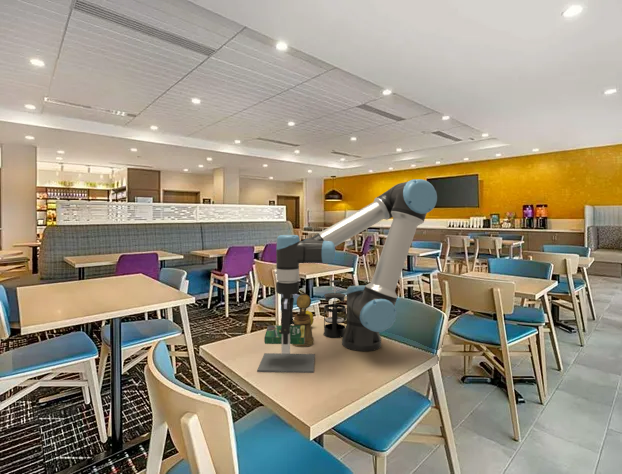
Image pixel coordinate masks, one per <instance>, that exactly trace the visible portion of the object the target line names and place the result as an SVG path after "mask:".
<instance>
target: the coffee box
mask: <svg viewBox="0 0 622 474" xmlns="http://www.w3.org/2000/svg"><path fill="white" fill-rule="evenodd" d="M279 332H281V325H275V324H274V325H267V328H266V331H265V334H264V340H263V341H264V344H265V345H282V334H279ZM304 343H305V326H304V325H302V326H300V325H299V326H294V325H292V326H290V345H292V344H304Z"/></svg>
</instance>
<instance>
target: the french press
mask: <svg viewBox="0 0 622 474" xmlns="http://www.w3.org/2000/svg"><path fill="white" fill-rule="evenodd" d="M329 282H330V283H333V286H334V287H333V288H334V290H333V291H334V292H329V293H325V294H324V295H323V296H324V299H325V300H324V301H326V302H329V301H330V300H332V299H333V300H334V302H333V303H329V304H325V305H324V306H323V308H324V309H323V336H324V337H327V338H330V339H340V338H341V339H342V337H343V334H344V331H345V328H346V325H345V324H343V323H345V321H346V318H345V317H340V316H338V313H343V312H346V305H344V304H341V303H340V304H339V303H336V300H338V301H340V302H345V298H346V297H347V295H346V294H344V293H341V292H336V286H337V283H341V281H340V280H338V279H337V280H336V279H334V280H329ZM326 312H328V313H331V316H328V317H326ZM326 323H327V324H326Z"/></svg>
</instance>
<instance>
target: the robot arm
mask: <svg viewBox="0 0 622 474" xmlns="http://www.w3.org/2000/svg"><path fill="white" fill-rule="evenodd" d="M437 201H438V194H437V190H436V189H435V187H434V186H433V184H432V183H430V182H429V180H426V179H419V178H418V179H411V180H409V181H405V182H400V183H397V184H394V185H393V186H391V187H390V188H388V190H386V191H385V192H383V193H382V194H380V195H378V196H377V197H375V198H374V200H373V202H371V203H369V204H368V205H365V206H364V207H362V208H361V209H359V210H357V211H355V212H353V213H352V214H350V215H348V216H346V217H345V218H343V219H341V220H340V221H338V222H336V223H334V224H333V225H331V226H329V227H326V228H325V229H324V230H322V231H320V232H318V233H317V234H315V235H313V236H311V237H308V238H305V239H304V240H300V236H299V235H297V234H280V235H278V236H277V238H276V248H275V249H276V251H275V252H276V255H275V256H276V257H275V258H276V262H275V263H276V270H275V271H274V274H275V275H276V282H275V283H276V286H275V290H276V291H275V292H276V293H277V294H279V295H282V297H281V299H280V305H281V308H280V309H281V316H280V317H281V319H280V321H281V323H280V324H281V325H280V326H281V332H279V334H282V344H281V352H280V353H283V354H291V344H290V326H293V325H294V321H293V320H294V317H293V316H294V314H293V313H294V311H293V309H294V301H295V299H294V295H296V294H298V293H299V291H300V287H299V286H300V285H299V284H300V282H299V280H300V264H323V265H324V264H329V263H330V264H331V263H333V262H334V261H335V257H336V247H337V246H339V245H340V244H342V243H344V242H347V241H348V240H349V239H352V238H353V237H355V236H357V235H359V234H360V233H361V232H363V231H365V230H367V229H368V228H371V227H372V226H374V225H376V224H377V223H380V222H381V221H383V220H385V221H389V220H390V219H392V221H391V224H390V227H389V230H388V233H387V236H386V239H385V241H384V245H383V248H382V250H381V253H380V256H379V259H378V262H377V265H376V268H375V270H374V273H373V275H372V279H371V282H369V283H368V284H364V285H350V286H348V287H347V289H346V294H345V295H346V324H345V331H344V334H343V337H341V343H342V344H341V345H342V346H343V347H344V348H346V349H349V350H352V351H357V352H371V351H376V350H379V349H380V348H381V347H382V338H381V335H380V332H381V333H382V332H384V331H387V330H389V329H390V328H391V327H393V325H394V324H395V322H396V319H397V317H398V312H397V309H396V306H395V305H396V303H397V301H398V295H397V293H396V289H397V285H398V284H399V283H398V282H399V281H400V280H399V279H400V277H401V274H402V272H403V269H404V265H405V262H406V260H407V258H408V257H407V256H408V254H409V251H410V249H411V245H412V243H413V240H414V238H415V234H416V231H417V228H418V226H420V225H422V224H424V221H425V219H426V217H427V214H428V213H430V212H431V211H433V210H434V208H435V207H436V205H437Z"/></svg>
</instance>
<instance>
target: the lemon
mask: <svg viewBox="0 0 622 474" xmlns="http://www.w3.org/2000/svg"><path fill="white" fill-rule="evenodd" d="M306 314H309V315H310V318H311V326H312V325H313V323H314V315H313V313H312V312H311V311H309V310H308V309H306Z"/></svg>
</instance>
